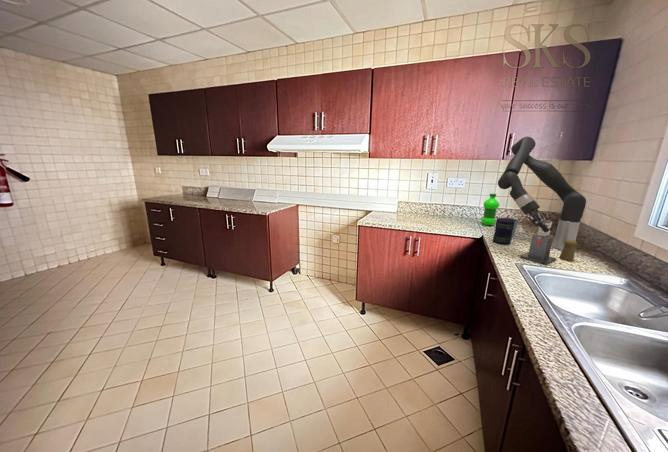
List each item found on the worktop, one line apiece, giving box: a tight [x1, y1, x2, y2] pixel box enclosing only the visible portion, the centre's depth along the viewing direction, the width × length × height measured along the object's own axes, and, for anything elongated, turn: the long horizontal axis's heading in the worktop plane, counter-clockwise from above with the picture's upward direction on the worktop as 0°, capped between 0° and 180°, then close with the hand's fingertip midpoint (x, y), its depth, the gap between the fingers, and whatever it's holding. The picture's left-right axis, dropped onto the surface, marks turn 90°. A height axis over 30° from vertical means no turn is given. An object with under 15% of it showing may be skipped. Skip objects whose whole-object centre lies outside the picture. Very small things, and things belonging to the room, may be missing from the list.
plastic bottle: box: [480, 193, 500, 226], centre depth 205 cm, size 10×10×25 cm
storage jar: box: [492, 217, 515, 246], centre depth 165 cm, size 10×10×15 cm
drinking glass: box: [504, 217, 519, 239], centre depth 179 cm, size 10×10×12 cm
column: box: [537, 219, 553, 237], centre depth 137 cm, size 4×4×20 cm
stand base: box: [519, 232, 557, 266], centre depth 139 cm, size 12×12×14 cm
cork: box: [558, 239, 578, 263], centre depth 139 cm, size 6×6×11 cm
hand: (548, 230), depth 134 cm, fingers closed on column, 4 cm apart
